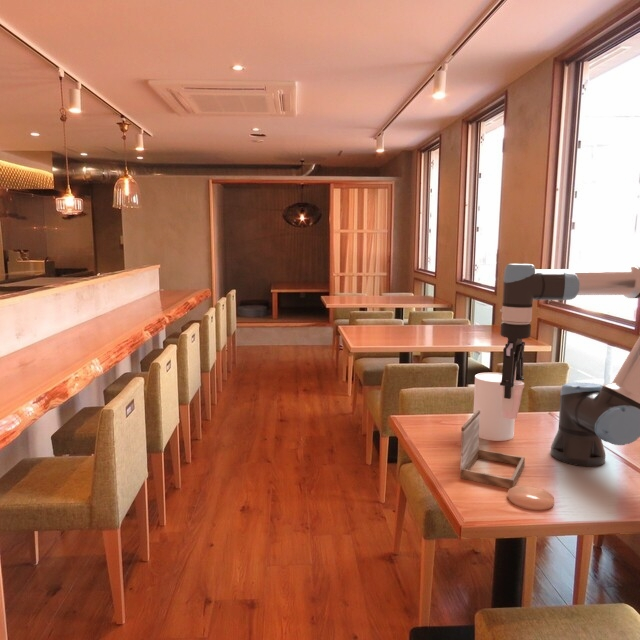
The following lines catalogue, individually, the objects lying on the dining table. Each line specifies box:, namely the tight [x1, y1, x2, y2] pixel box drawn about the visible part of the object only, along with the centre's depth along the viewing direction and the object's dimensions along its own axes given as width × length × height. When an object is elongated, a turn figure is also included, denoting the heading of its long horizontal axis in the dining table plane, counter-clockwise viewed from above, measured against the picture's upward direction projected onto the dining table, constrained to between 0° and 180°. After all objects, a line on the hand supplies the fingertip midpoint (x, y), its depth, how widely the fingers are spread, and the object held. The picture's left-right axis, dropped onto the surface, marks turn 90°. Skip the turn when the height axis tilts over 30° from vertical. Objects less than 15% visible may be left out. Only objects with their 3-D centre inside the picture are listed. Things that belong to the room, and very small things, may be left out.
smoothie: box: [499, 370, 525, 419], centre depth 145 cm, size 6×6×14 cm
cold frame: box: [459, 410, 526, 490], centre depth 154 cm, size 16×18×15 cm
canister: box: [472, 372, 516, 442], centre depth 184 cm, size 14×14×20 cm
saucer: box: [507, 485, 555, 511], centre depth 137 cm, size 11×11×1 cm
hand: (510, 406), depth 146 cm, fingers closed on smoothie, 6 cm apart
